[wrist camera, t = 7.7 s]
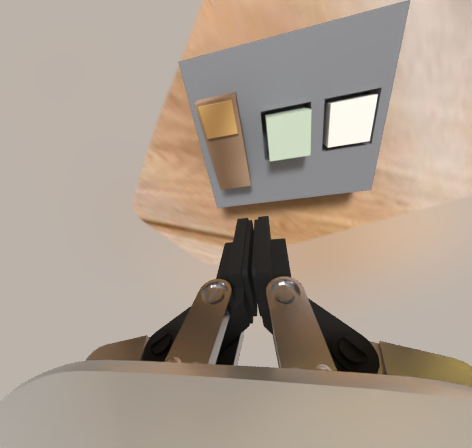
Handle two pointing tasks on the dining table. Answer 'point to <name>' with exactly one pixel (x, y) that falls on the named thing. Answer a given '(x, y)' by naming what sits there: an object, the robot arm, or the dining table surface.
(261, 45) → the console
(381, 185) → the dining table surface
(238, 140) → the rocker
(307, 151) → the sage button
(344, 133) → the white button
